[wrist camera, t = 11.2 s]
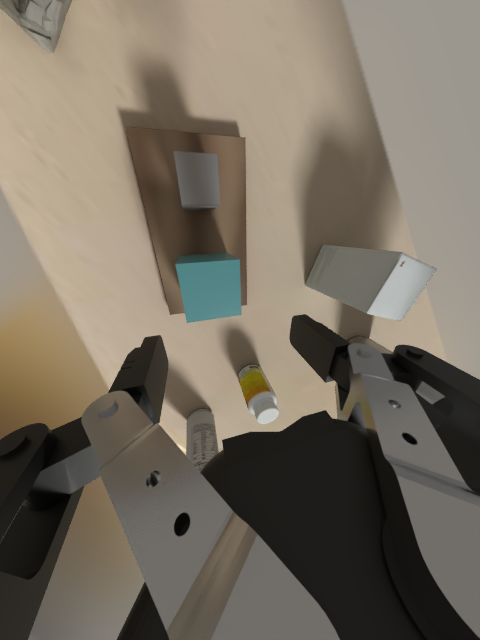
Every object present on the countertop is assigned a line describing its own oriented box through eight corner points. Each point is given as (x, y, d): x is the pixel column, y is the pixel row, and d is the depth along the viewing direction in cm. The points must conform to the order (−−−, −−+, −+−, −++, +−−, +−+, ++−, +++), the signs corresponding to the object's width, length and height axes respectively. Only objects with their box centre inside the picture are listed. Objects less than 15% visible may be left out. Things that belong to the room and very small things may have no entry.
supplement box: (303, 285, 31) (364, 314, 20) (322, 243, 28) (404, 249, 18) (333, 294, 34) (401, 323, 23) (352, 255, 31) (441, 268, 20)
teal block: (227, 252, 24) (239, 259, 18) (229, 296, 27) (241, 314, 21) (179, 255, 22) (175, 264, 16) (187, 301, 25) (187, 322, 19)
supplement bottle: (232, 375, 37) (245, 421, 28) (251, 359, 36) (271, 400, 27) (248, 386, 39) (265, 430, 30) (266, 371, 39) (289, 411, 30)
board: (241, 143, 20) (264, 106, 14) (244, 301, 29) (258, 319, 23) (129, 134, 18) (98, 83, 12) (171, 310, 27) (165, 333, 21)
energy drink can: (182, 423, 39) (179, 517, 26) (193, 405, 37) (195, 496, 25) (206, 425, 42) (214, 512, 29) (217, 408, 40) (231, 492, 27)
